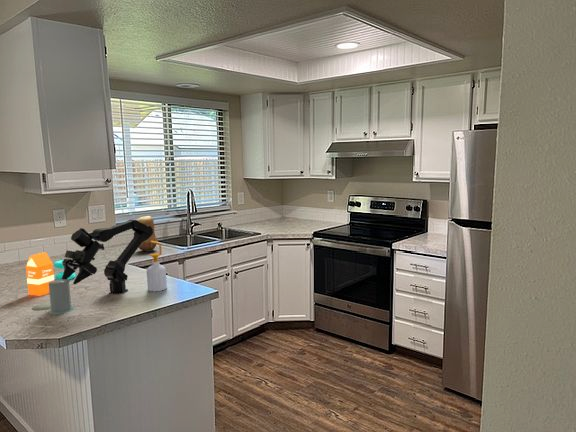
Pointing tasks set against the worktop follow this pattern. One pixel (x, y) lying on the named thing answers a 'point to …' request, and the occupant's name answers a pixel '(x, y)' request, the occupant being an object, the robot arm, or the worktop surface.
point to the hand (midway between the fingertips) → (67, 282)
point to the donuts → (59, 275)
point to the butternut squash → (148, 244)
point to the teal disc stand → (60, 312)
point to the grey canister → (60, 295)
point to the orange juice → (39, 274)
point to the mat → (42, 307)
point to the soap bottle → (156, 273)
